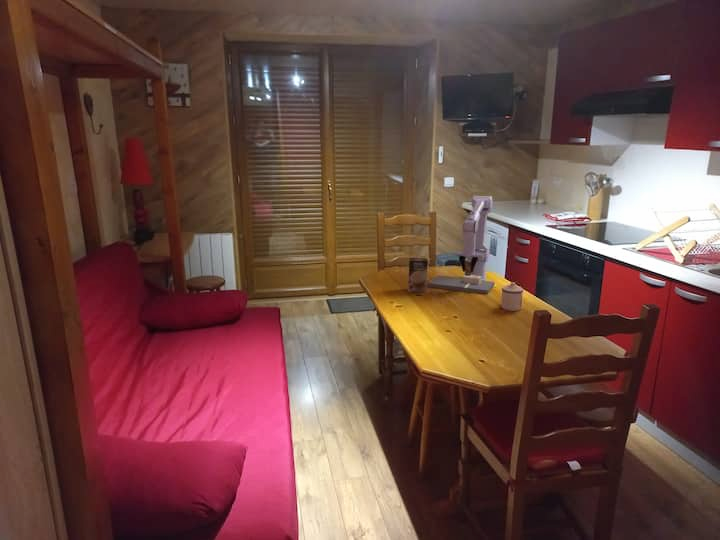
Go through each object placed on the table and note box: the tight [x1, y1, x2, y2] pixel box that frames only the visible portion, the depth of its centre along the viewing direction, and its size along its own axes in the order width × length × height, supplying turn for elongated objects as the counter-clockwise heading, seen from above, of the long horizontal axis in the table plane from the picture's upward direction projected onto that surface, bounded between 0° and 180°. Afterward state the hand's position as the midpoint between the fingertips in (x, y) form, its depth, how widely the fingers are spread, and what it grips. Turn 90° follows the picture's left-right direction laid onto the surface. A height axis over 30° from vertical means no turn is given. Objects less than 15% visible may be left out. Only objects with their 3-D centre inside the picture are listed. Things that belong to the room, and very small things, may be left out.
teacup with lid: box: [500, 281, 524, 312], centre depth 218 cm, size 12×9×12 cm
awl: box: [464, 260, 471, 276], centre depth 243 cm, size 4×4×7 cm
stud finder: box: [462, 275, 482, 284], centre depth 250 cm, size 5×8×3 cm, turn 63°
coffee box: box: [407, 257, 429, 293], centre depth 243 cm, size 9×6×16 cm
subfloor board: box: [427, 274, 495, 295], centre depth 251 cm, size 16×30×2 cm, turn 64°
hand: (467, 271), depth 243 cm, fingers closed on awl, 4 cm apart
